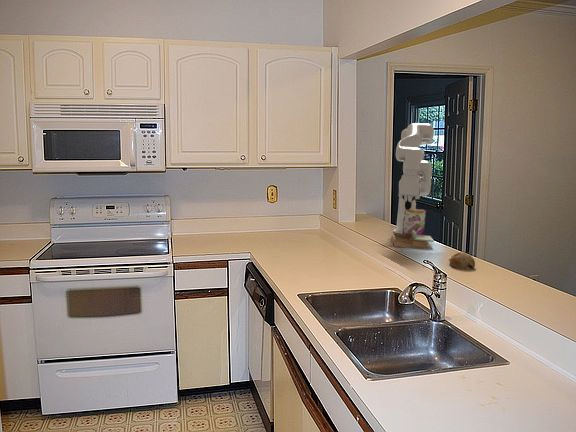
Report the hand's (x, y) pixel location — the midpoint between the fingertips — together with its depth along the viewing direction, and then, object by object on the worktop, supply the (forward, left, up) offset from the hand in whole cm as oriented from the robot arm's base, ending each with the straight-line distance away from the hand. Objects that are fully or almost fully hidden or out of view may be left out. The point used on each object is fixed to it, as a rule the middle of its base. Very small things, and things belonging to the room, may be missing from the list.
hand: (407, 209), depth 275 cm
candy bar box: (-11, +5, -18) cm, 21 cm away
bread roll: (+47, +19, -18) cm, 54 cm away
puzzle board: (+3, +2, -17) cm, 18 cm away
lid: (+3, +8, -14) cm, 16 cm away
